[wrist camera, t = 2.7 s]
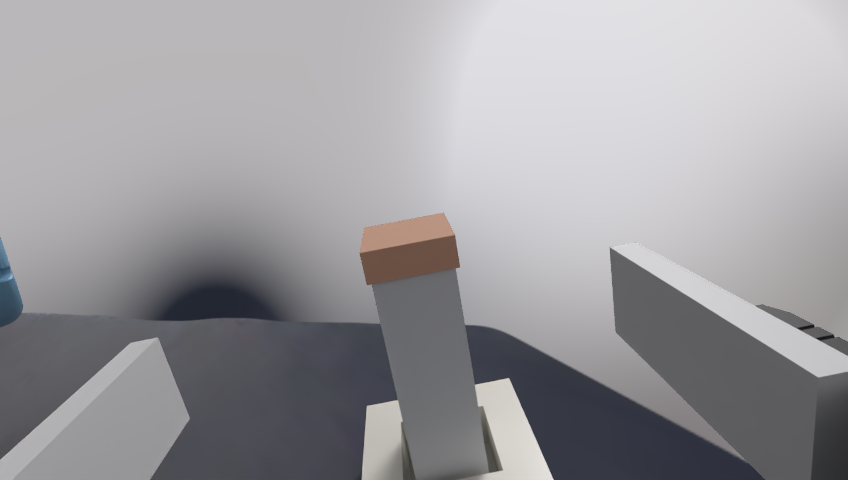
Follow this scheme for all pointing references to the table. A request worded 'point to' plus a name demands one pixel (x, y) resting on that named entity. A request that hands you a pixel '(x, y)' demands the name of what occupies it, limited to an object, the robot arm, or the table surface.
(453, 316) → the plug
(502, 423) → the white square base
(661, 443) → the table surface
